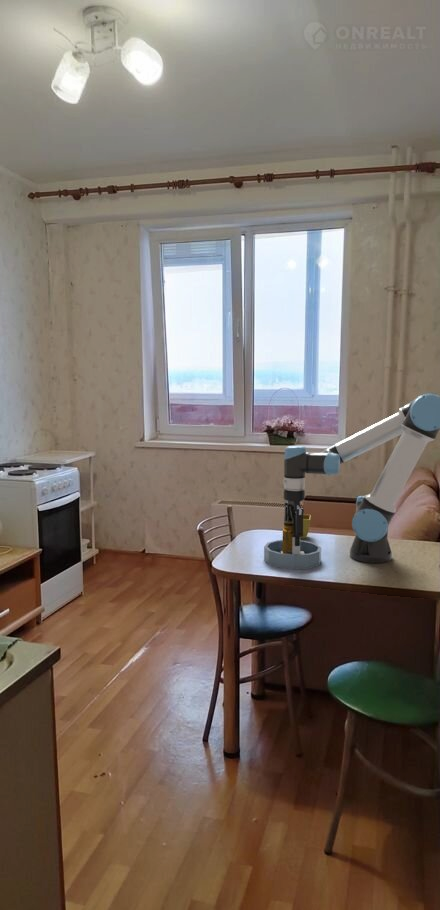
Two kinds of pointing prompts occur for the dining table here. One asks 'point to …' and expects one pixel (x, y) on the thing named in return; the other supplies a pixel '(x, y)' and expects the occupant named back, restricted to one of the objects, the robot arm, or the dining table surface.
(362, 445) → the robot arm
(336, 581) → the dining table surface
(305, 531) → the flower pot
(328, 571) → the dining table surface
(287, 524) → the condiment
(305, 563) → the bowl
